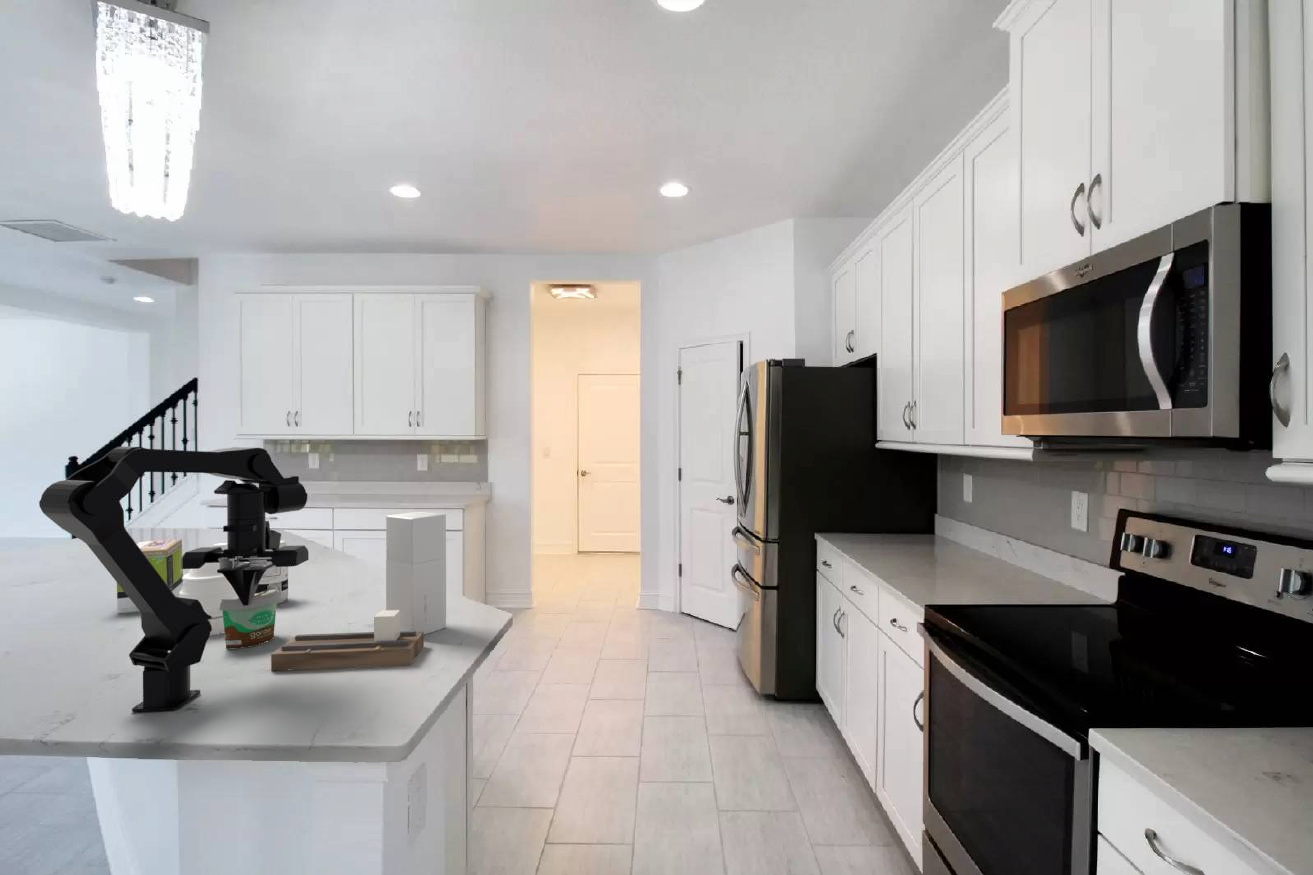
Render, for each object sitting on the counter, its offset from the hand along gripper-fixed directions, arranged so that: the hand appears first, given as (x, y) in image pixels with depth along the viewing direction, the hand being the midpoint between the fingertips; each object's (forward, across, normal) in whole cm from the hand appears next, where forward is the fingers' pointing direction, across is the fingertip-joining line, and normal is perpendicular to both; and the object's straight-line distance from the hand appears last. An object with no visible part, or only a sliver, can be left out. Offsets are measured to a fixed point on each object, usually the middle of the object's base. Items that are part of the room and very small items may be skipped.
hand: (247, 605), depth 112 cm
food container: (+12, +6, -17) cm, 22 cm away
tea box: (+12, +46, -50) cm, 69 cm away
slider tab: (+9, -22, -5) cm, 25 cm away
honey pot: (+12, +21, -28) cm, 37 cm away
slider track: (+12, -16, -5) cm, 21 cm away
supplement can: (+12, +18, -48) cm, 53 cm away
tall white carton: (+12, -24, -21) cm, 34 cm away
